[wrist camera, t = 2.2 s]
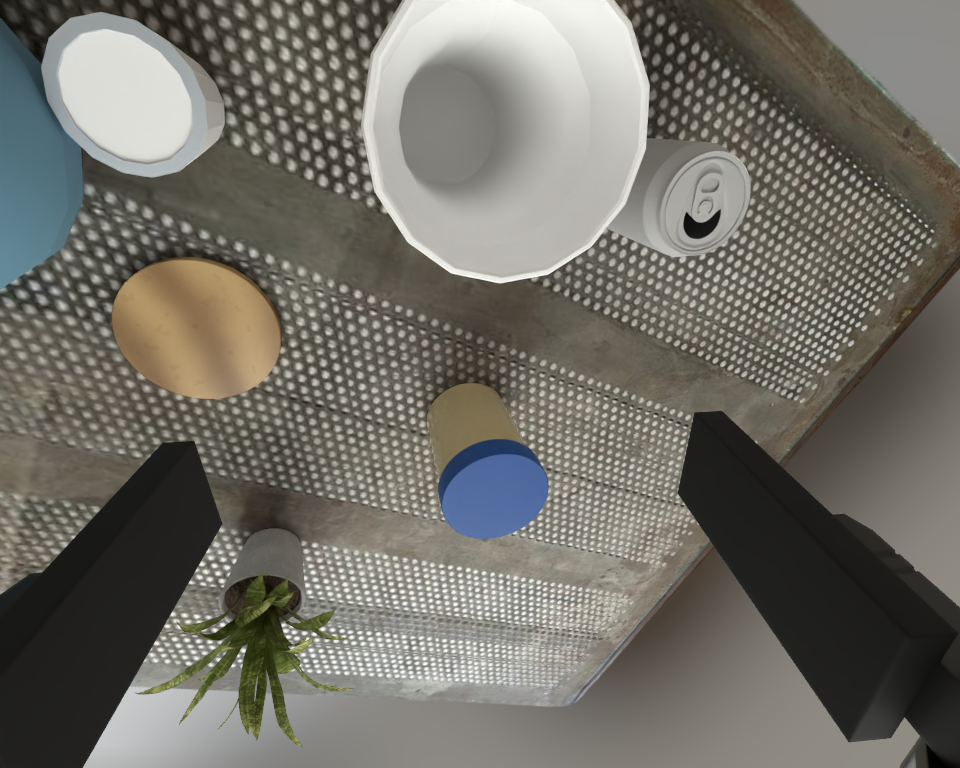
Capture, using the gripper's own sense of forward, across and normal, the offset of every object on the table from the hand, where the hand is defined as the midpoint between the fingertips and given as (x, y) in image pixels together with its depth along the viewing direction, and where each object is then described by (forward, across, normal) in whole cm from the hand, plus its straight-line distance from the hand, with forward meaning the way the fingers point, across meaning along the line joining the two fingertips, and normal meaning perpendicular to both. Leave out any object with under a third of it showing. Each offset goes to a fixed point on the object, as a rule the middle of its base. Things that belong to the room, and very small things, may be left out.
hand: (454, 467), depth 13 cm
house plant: (+26, -17, -28) cm, 42 cm away
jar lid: (+18, +3, -16) cm, 24 cm away
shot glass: (+24, -16, +10) cm, 31 cm away
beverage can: (+29, +13, +5) cm, 32 cm away
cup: (+27, 0, +9) cm, 28 cm away
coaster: (+25, -18, -4) cm, 31 cm away
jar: (+28, +1, -15) cm, 32 cm away
